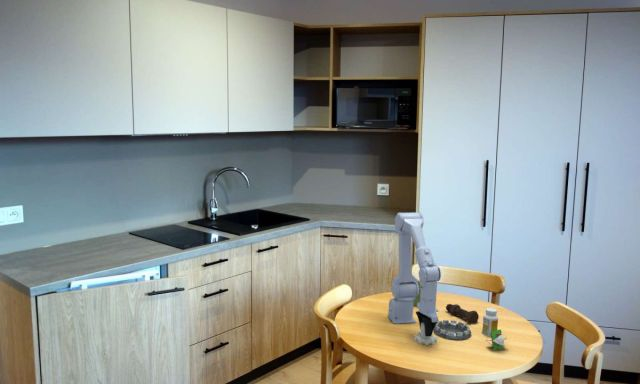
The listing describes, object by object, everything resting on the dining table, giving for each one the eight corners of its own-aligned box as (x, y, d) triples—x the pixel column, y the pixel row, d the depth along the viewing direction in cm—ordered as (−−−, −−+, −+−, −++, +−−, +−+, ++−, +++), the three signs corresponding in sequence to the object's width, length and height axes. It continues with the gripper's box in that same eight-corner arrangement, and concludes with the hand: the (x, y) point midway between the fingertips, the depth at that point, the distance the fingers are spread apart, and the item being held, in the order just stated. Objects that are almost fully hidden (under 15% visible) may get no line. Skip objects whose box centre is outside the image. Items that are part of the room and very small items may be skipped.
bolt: (449, 315, 226) (474, 327, 213) (441, 311, 223) (467, 322, 210) (454, 302, 226) (480, 313, 213) (447, 298, 224) (473, 309, 211)
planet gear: (419, 345, 190) (420, 329, 189) (410, 336, 198) (411, 320, 197) (440, 344, 192) (441, 328, 191) (431, 334, 200) (432, 319, 199)
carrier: (442, 341, 194) (443, 335, 194) (427, 326, 208) (428, 320, 208) (477, 339, 197) (478, 332, 197) (460, 324, 211) (460, 318, 211)
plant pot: (431, 302, 235) (432, 283, 234) (426, 309, 226) (427, 289, 225) (410, 299, 239) (411, 280, 237) (405, 305, 230) (406, 286, 229)
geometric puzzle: (480, 337, 194) (489, 325, 188) (495, 335, 196) (505, 324, 190) (488, 355, 189) (498, 344, 184) (504, 353, 191) (515, 342, 186)
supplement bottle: (496, 332, 204) (498, 308, 203) (496, 337, 199) (498, 313, 198) (482, 330, 206) (484, 306, 205) (481, 335, 201) (483, 310, 200)
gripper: (447, 304, 187) (444, 341, 189) (430, 290, 201) (428, 325, 203) (428, 305, 185) (426, 342, 187) (412, 291, 199) (410, 326, 201)
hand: (425, 333), depth 195 cm, fingers closed on planet gear, 4 cm apart
